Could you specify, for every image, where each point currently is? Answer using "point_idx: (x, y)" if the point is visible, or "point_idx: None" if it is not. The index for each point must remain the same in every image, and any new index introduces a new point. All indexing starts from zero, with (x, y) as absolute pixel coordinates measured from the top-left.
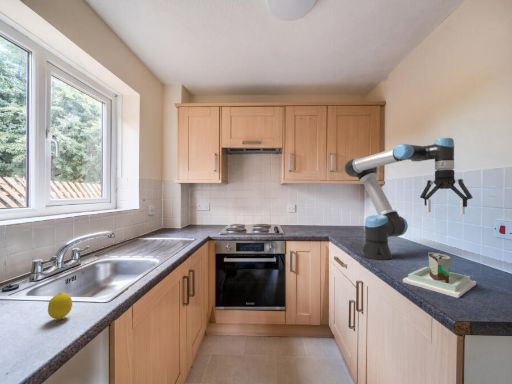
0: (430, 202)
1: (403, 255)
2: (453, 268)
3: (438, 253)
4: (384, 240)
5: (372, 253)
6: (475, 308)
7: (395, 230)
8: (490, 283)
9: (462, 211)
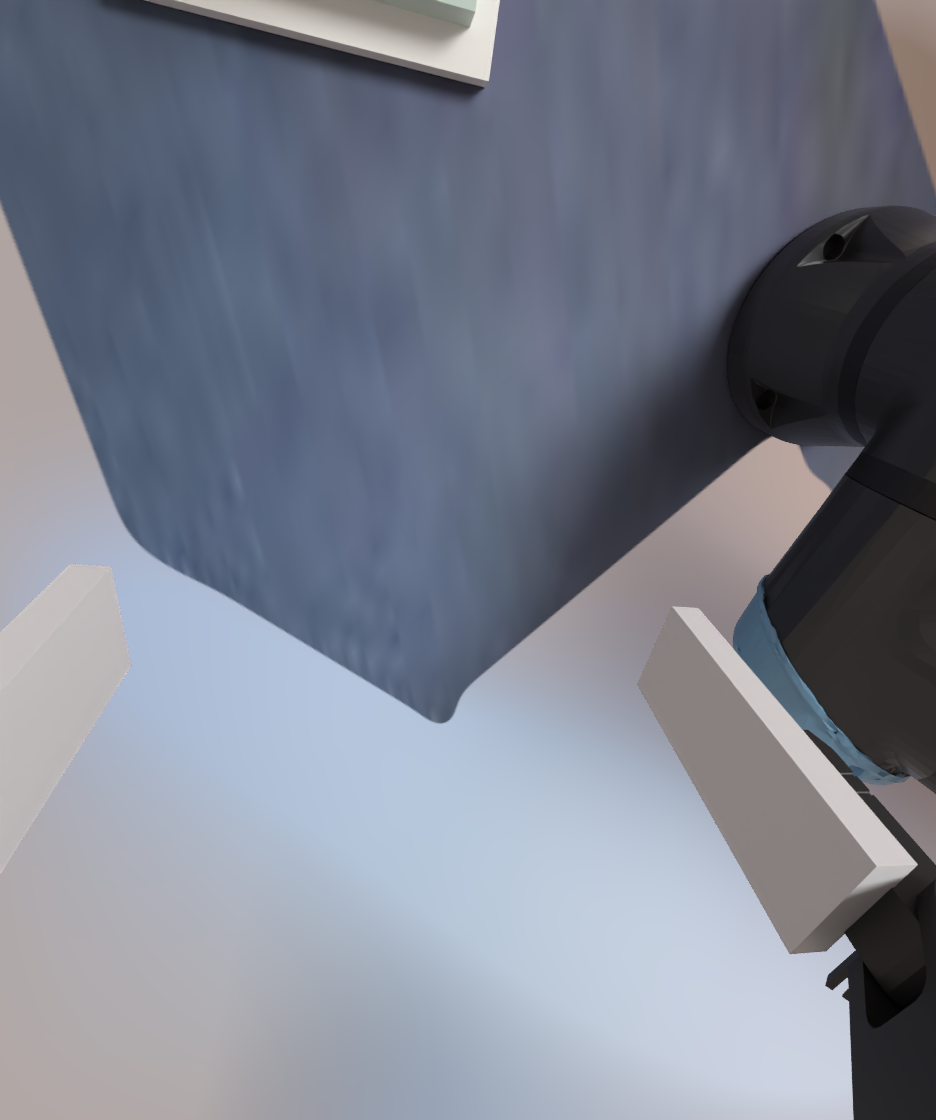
0: (739, 863)
1: (656, 510)
2: (356, 401)
3: None
4: (898, 308)
5: (902, 210)
6: None
7: (852, 504)
8: (75, 144)
9: (34, 600)
